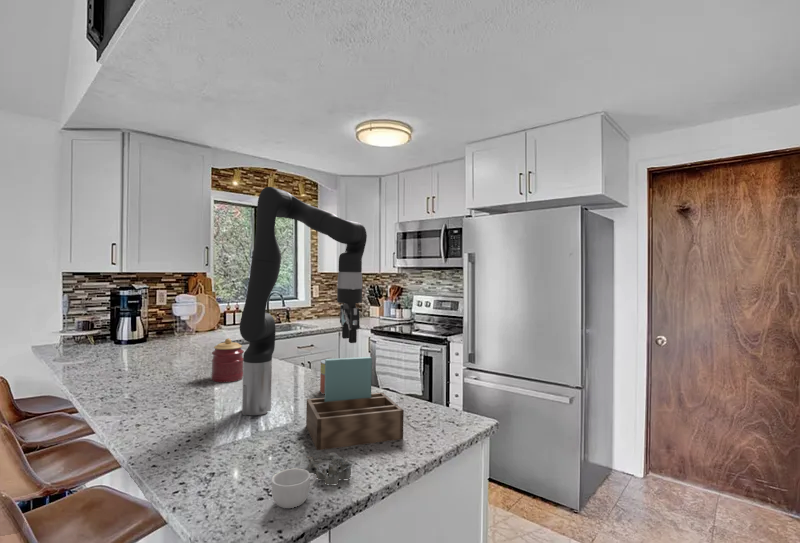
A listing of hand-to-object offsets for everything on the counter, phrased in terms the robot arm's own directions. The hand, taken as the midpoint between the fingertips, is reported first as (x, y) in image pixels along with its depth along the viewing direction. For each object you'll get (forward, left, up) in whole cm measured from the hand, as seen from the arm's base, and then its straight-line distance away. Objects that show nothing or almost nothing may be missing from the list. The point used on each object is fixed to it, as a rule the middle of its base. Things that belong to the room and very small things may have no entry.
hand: (349, 340), depth 129 cm
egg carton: (-11, -26, -27) cm, 40 cm away
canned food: (+5, +41, -27) cm, 50 cm away
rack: (0, -7, -27) cm, 28 cm away
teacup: (-20, -36, -27) cm, 49 cm away
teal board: (0, 0, -25) cm, 25 cm away
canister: (-35, +73, -27) cm, 86 cm away
